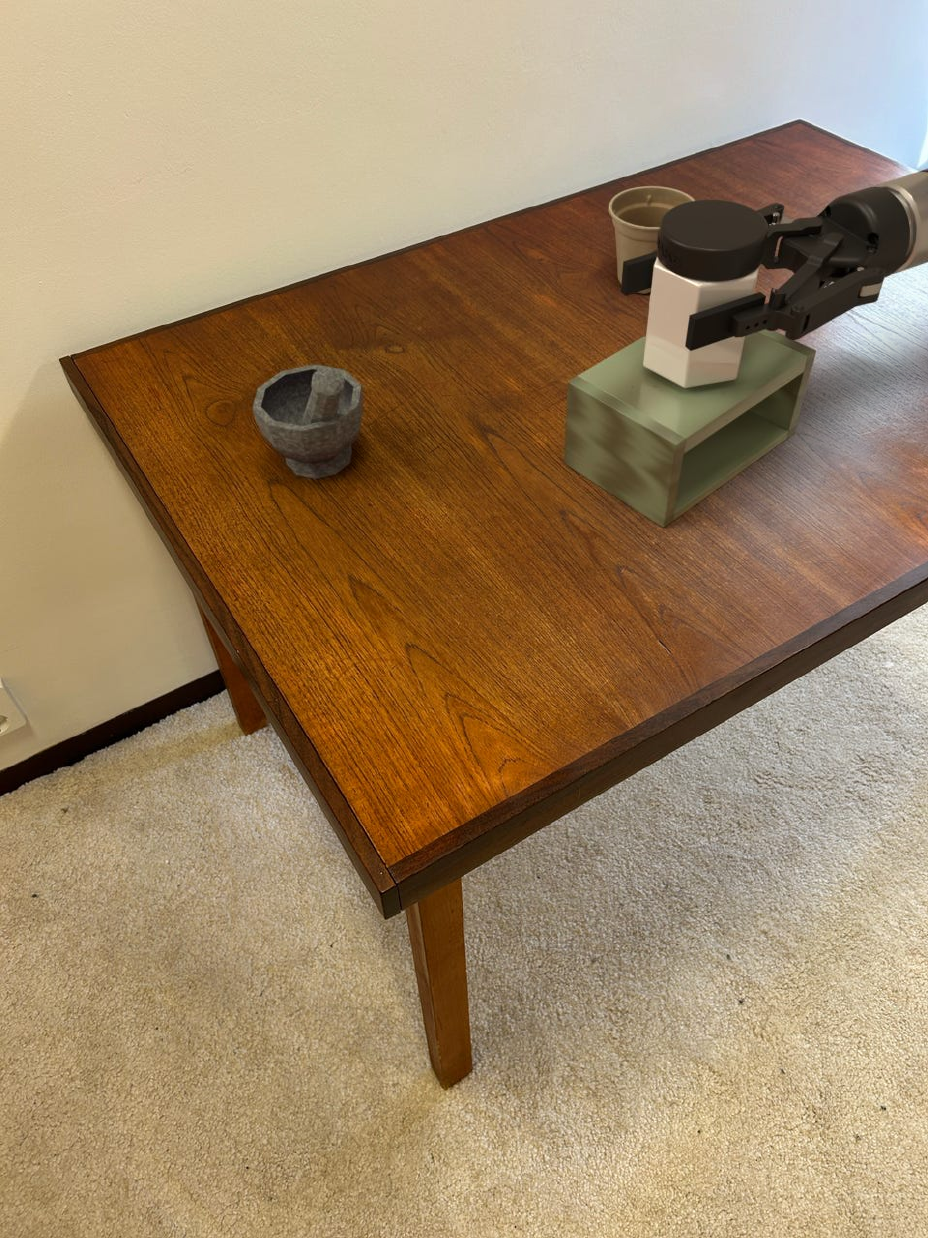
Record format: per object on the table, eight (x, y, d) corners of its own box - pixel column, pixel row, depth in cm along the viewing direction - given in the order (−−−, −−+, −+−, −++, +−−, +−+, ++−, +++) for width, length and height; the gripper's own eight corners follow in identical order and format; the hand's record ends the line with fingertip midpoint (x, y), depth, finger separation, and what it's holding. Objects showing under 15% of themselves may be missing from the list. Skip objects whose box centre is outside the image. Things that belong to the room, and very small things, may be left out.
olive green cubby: (794, 433, 90) (816, 350, 83) (663, 528, 83) (676, 445, 76) (693, 380, 96) (707, 298, 90) (563, 463, 89) (567, 381, 82)
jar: (654, 324, 86) (670, 191, 77) (747, 336, 84) (775, 201, 75) (634, 382, 80) (649, 246, 71) (734, 396, 79) (761, 258, 70)
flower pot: (685, 306, 105) (696, 229, 99) (599, 300, 107) (604, 224, 100) (689, 262, 111) (700, 187, 105) (607, 257, 113) (613, 183, 106)
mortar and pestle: (251, 450, 92) (222, 340, 83) (336, 412, 95) (317, 303, 86) (308, 513, 86) (283, 402, 77) (397, 471, 89) (383, 359, 80)
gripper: (959, 330, 78) (730, 416, 72) (790, 222, 91) (583, 287, 85) (993, 243, 73) (748, 328, 67) (807, 140, 86) (588, 204, 80)
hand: (656, 305), depth 76 cm, fingers closed on jar, 8 cm apart
